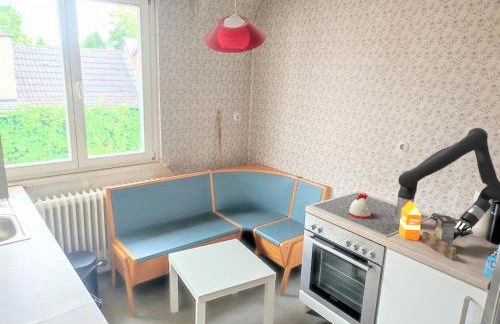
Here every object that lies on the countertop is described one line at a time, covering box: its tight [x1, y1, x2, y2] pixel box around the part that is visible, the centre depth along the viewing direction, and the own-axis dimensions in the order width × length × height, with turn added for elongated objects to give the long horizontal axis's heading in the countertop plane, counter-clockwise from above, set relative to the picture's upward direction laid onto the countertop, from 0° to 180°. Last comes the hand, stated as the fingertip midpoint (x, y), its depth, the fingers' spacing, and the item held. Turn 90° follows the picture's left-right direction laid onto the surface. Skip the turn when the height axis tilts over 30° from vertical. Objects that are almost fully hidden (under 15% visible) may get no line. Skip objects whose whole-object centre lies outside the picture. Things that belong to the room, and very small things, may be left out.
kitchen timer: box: [348, 192, 372, 220], centre depth 223 cm, size 14×14×15 cm
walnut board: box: [421, 231, 457, 261], centre depth 177 cm, size 20×2×6 cm, turn 15°
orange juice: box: [398, 201, 422, 241], centre depth 192 cm, size 8×9×20 cm
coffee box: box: [433, 215, 457, 246], centre depth 180 cm, size 9×6×16 cm
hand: (450, 239), depth 181 cm, fingers closed
